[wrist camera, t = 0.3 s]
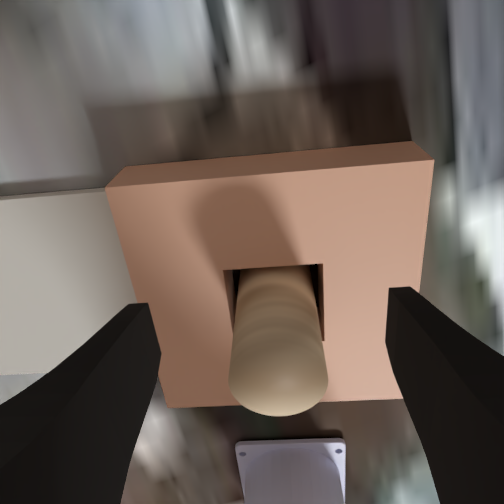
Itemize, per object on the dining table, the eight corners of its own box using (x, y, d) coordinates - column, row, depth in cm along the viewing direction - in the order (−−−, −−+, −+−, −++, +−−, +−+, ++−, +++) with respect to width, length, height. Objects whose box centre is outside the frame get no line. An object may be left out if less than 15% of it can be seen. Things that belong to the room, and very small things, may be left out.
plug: (311, 301, 24) (329, 414, 17) (244, 305, 25) (234, 418, 18) (309, 241, 23) (327, 341, 16) (236, 246, 23) (222, 347, 16)
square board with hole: (393, 360, 26) (406, 398, 24) (177, 371, 28) (167, 408, 25) (412, 141, 20) (434, 159, 17) (125, 166, 21) (104, 187, 18)
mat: (159, 360, 27) (157, 367, 27) (-14, 369, 28) (-20, 376, 28) (110, 187, 21) (106, 191, 21) (-106, 205, 22) (-115, 209, 22)
